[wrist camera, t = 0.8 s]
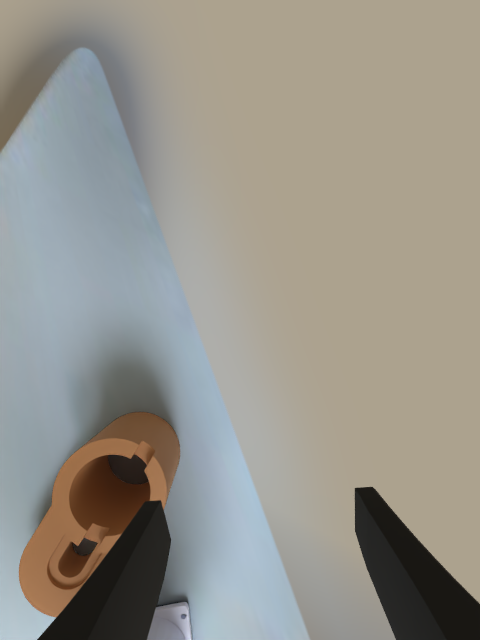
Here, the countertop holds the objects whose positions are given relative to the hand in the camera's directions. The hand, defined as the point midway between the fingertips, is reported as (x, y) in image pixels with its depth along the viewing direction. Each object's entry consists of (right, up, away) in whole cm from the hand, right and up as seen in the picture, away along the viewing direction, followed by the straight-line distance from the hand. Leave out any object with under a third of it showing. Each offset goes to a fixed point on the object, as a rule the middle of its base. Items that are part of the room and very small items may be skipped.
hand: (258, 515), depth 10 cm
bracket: (-13, -11, +17) cm, 24 cm away
